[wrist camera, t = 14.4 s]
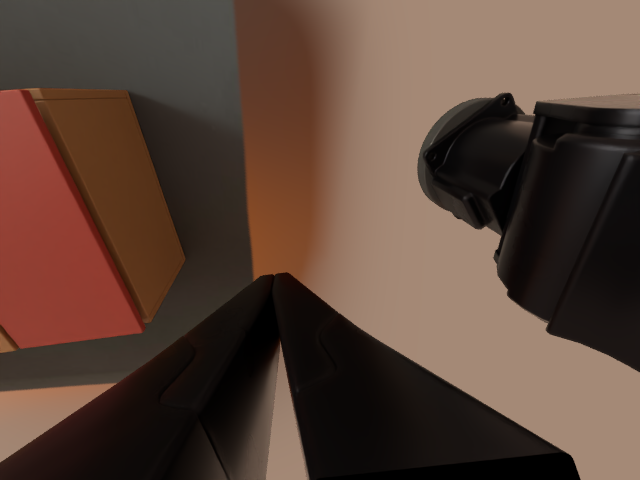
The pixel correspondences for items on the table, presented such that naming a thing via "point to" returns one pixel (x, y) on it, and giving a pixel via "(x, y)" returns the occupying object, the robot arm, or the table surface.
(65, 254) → the flap
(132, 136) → the carton
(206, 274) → the table surface
